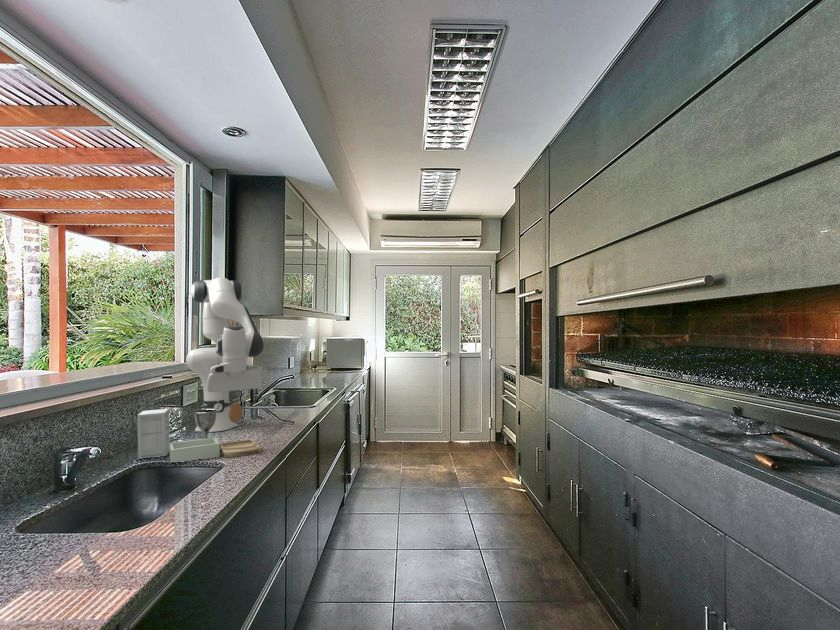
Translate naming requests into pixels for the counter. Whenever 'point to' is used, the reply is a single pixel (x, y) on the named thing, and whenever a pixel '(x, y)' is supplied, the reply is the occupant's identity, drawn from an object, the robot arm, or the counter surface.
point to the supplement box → (153, 433)
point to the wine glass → (205, 420)
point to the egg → (235, 412)
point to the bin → (194, 449)
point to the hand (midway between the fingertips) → (235, 401)
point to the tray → (239, 448)
